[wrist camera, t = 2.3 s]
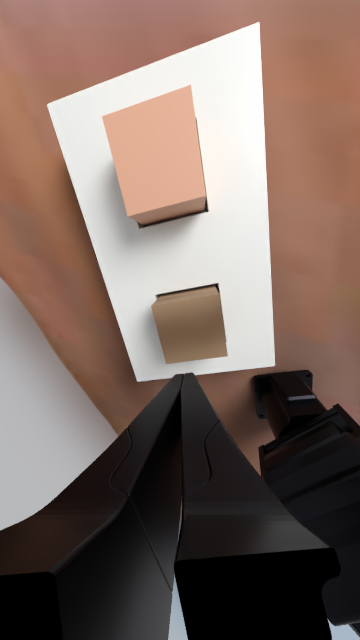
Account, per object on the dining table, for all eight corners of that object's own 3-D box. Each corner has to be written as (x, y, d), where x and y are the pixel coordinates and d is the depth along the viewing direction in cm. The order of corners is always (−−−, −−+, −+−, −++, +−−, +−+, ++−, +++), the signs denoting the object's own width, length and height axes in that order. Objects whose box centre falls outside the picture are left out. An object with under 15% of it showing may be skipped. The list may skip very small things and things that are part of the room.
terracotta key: (203, 211, 15) (206, 195, 11) (144, 225, 15) (127, 216, 12) (192, 133, 13) (190, 84, 9) (127, 154, 14) (101, 116, 10)
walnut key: (221, 335, 18) (227, 356, 14) (172, 342, 19) (166, 364, 15) (214, 285, 16) (219, 293, 13) (161, 295, 17) (150, 306, 13)
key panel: (261, 346, 21) (275, 365, 18) (147, 361, 23) (137, 381, 20) (242, 83, 14) (259, 21, 10) (81, 139, 16) (46, 103, 13)
